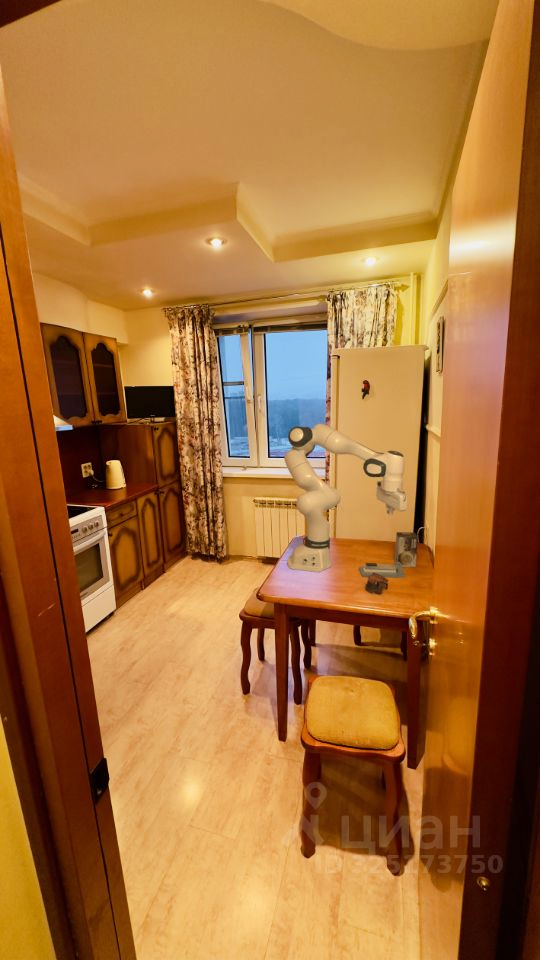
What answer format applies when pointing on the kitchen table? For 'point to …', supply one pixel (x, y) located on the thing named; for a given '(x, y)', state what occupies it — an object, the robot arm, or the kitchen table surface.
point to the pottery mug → (376, 587)
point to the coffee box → (406, 549)
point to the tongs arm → (380, 566)
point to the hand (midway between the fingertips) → (389, 514)
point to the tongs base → (383, 572)
